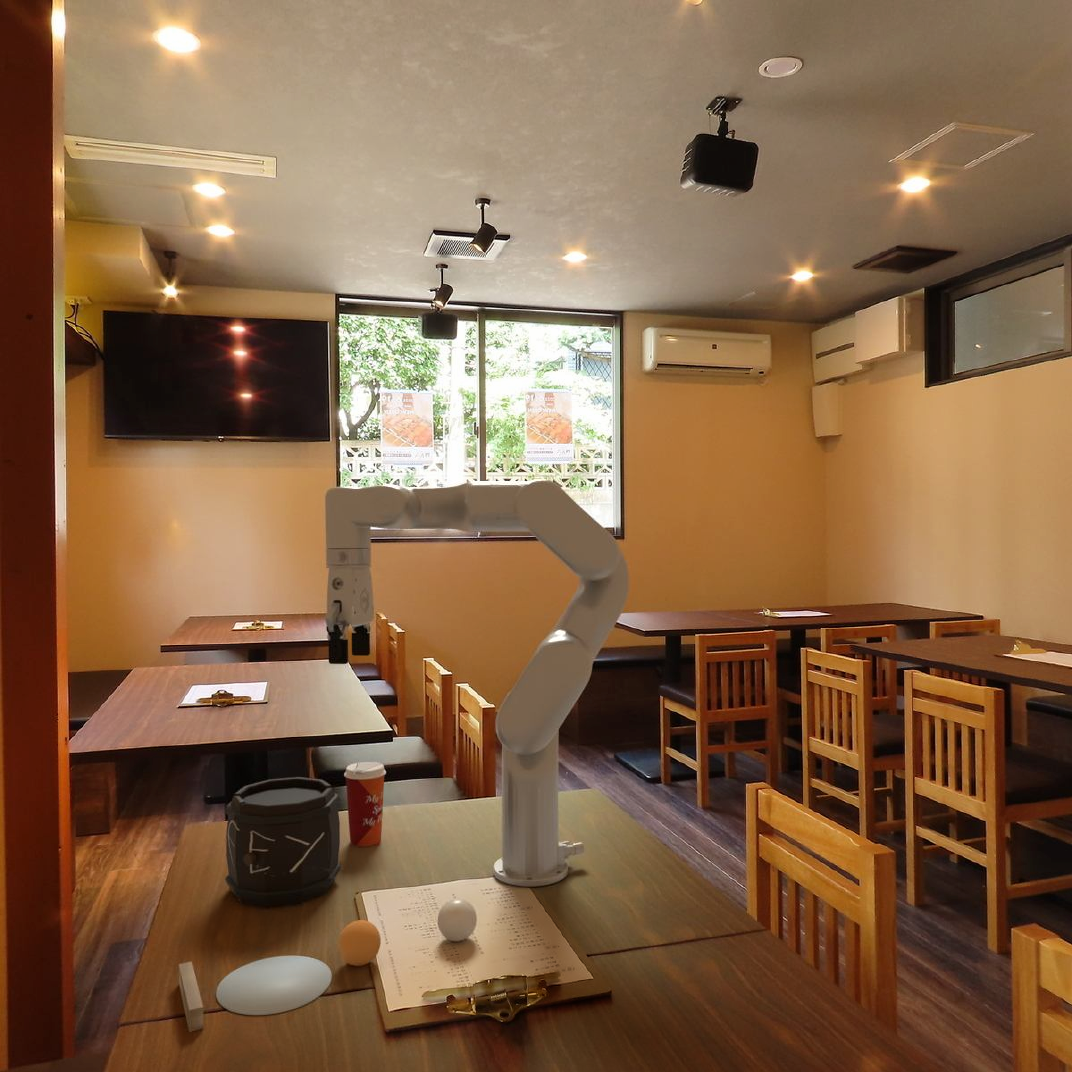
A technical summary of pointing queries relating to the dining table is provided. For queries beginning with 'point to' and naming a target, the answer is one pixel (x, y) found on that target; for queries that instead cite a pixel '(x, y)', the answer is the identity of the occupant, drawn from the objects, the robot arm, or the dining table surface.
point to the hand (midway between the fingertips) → (350, 659)
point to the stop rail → (190, 997)
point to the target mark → (273, 985)
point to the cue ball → (457, 919)
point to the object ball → (359, 942)
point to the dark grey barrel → (282, 841)
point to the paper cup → (365, 802)
